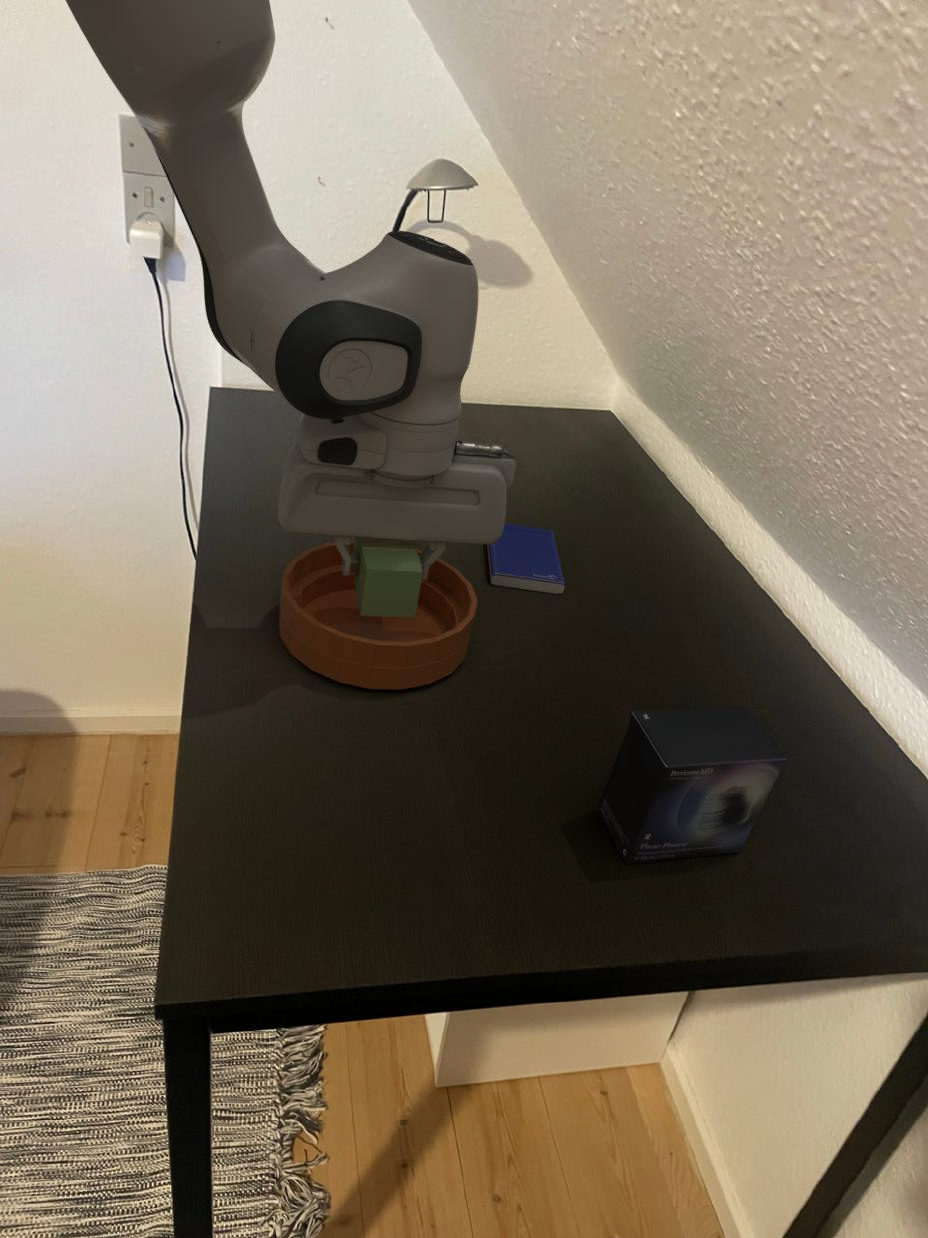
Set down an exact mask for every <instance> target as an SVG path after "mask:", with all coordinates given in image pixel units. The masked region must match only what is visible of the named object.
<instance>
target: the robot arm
mask: <svg viewBox="0 0 928 1238" xmlns="http://www.w3.org/2000/svg"><path fill="white" fill-rule="evenodd" d="M65 2H66V4H67V6H68V8H69V10H70V12H71V14H72V15H73V17H74V20H75V21H76V23H77V25H78V27H79V29H80V30H81V32H82V34H83V36H84V37H85V39H86V41H87V43H88V45H89V46H90V48H91V50H92V51H93V53H94V55H95V56H96V58H97V60H98V62H99V63H100V65H101V67H102V68H103V71H105V74H106V75H107V76H108V77H109V79H110V80H111V83H112V84H113V85H114V87H115V88H116V90H117V92H118V93H119V94H120V96H121V97H122V98H123V100H124V102H125V103H126V105H127V106H128V108H129V109H130V111H131V112H132V114H133V115H134V118H136V120H137V122H138V123H139V125H140V127H141V128H142V129H143V131H144V133H145V134H146V136H147V138H148V139H149V141H150V143H151V145H152V147H153V149H154V151H155V153H156V156H157V158H158V161H159V163H160V165H161V167H162V170H163V172H164V175H165V177H166V180H167V181H168V183H169V186H170V187H171V190H172V192H173V195H174V197H175V199H176V202H177V204H178V206H179V208H180V210H181V213H182V216H183V218H184V220H185V222H186V224H187V227H188V229H189V231H190V234H191V236H192V238H193V240H194V243H195V246H196V248H197V251H198V255H199V258H200V259H199V260H200V262H201V269H202V278H203V279H202V280H203V299H204V308H205V315H206V320H207V323H208V326H209V328H210V331H211V333H212V335H213V337H214V338H215V340H216V341H217V343H218V344H219V346H220V347H221V348H222V349H223V350H224V351H225V352H226V353H227V354H229V355H230V356H231V357H233V358H234V359H235V360H237V361H238V362H240V363H241V364H243V365H244V366H246V367H247V368H249V370H251V371H252V372H253V373H254V374H255V375H256V376H257V377H258V378H260V380H261V381H262V382H264V383H265V385H267V386H268V387H269V388H270V389H271V390H273V391H274V392H275V393H276V394H277V395H278V396H279V397H281V398H282V399H283V400H284V401H285V402H286V403H287V404H288V405H290V406H291V407H292V408H293V409H296V410H297V411H298V412H300V413H302V414H301V416H300V420H299V425H298V441H297V442H296V443H295V444H294V445H292V447H291V448H290V450H289V452H288V454H287V457H286V460H285V463H284V466H283V471H282V475H281V479H280V484H279V485H280V486H279V491H278V499H277V500H278V501H277V520H278V523H279V524H280V526H281V527H282V529H283V530H284V531H285V532H286V533H289V534H304V535H305V534H306V535H321V536H322V535H323V536H333V538H334V542H335V545H336V547H337V549H338V551H339V552H340V554H341V556H342V558H343V562H342V571H343V576H359V569H360V563H361V561H360V555H359V552H352V551H350V549H349V547H348V545H351V540H353V539H352V538H355V537H369V538H386V539H403V540H415V541H418V542H419V541H420V542H421V541H422V542H427V544H428V545H426V547H425V548H424V550H422V551H423V552H422V553H421V554H420V555H418V556H419V560H420V563H421V567H422V571H423V574H422V580H427V578H428V572H429V566H430V565H432V564H433V563H434V562H435V561H436V560H437V558H440V556H442V555H443V553H445V549H446V546H447V545H446V544H447V543H453V544H454V543H455V544H468V545H469V544H470V545H471V544H472V545H486V546H487V545H491V544H494V543H495V542H496V541H497V540H498V539H499V538H500V537H501V536H502V534H503V530H504V524H506V515H507V500H508V499H507V498H508V497H507V496H508V495H507V493H508V492H507V491H508V490H509V489H510V488H511V486H512V485H513V483H514V480H515V475H516V471H517V465H518V464H517V459H516V458H515V456H514V454H513V453H512V452H511V451H509V450H507V449H505V447H504V445H502V444H496V443H488V444H487V443H486V444H485V443H478V442H473V441H465V440H464V441H463V440H457V438H458V432H459V427H460V421H461V417H462V416H461V415H462V408H463V406H462V396H461V391H462V390H461V388H462V383H463V379H464V377H465V375H466V373H467V371H468V370H469V366H470V364H471V359H472V354H473V349H474V342H475V337H476V328H477V321H478V312H479V299H480V298H479V296H480V290H479V277H478V272H477V268H476V266H475V264H474V263H473V262H472V260H471V258H470V257H468V256H467V255H466V254H465V253H463V252H461V250H458V249H456V248H455V247H452V246H451V245H449V244H447V243H445V242H444V243H443V242H441V241H438V240H435V238H432V237H430V236H426V235H423V234H419V233H415V232H411V231H406V230H397V231H395V230H394V231H389V232H386V234H385V235H384V236H383V237H382V239H381V241H380V242H379V243H378V244H377V245H376V246H375V247H374V248H372V249H371V250H369V251H368V252H366V254H364V255H362V256H361V257H359V258H358V259H356V260H354V261H352V262H351V263H348V264H347V265H345V266H344V265H343V266H342V267H340V268H337V269H334V270H332V271H328V272H326V271H324V270H323V269H322V268H320V267H318V266H317V265H316V264H314V263H313V262H312V261H311V260H310V259H309V258H308V257H307V256H305V255H304V254H303V253H302V252H301V251H300V250H299V249H297V248H296V247H295V246H294V245H293V244H292V243H291V242H290V241H289V240H288V239H287V238H286V236H285V235H284V234H283V232H282V231H281V229H280V227H279V226H278V224H277V222H276V220H275V217H274V213H273V211H272V209H271V206H270V205H271V204H270V203H269V199H268V197H267V194H266V192H265V191H266V190H265V189H264V186H263V183H262V180H261V177H260V175H259V171H258V169H257V166H256V163H255V161H254V158H253V154H252V153H251V149H250V146H249V144H248V141H247V137H246V133H245V130H244V123H243V121H244V120H243V109H244V105H245V103H246V102H247V101H248V100H249V99H250V98H251V97H252V95H253V94H254V93H255V92H256V91H257V89H258V88H259V86H260V85H261V83H262V82H263V79H264V78H265V76H266V75H267V74H266V73H267V71H268V69H269V67H270V64H271V61H272V58H273V54H274V49H275V46H276V45H275V44H276V31H275V26H274V19H273V13H272V6H271V2H270V0H65Z"/></svg>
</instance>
